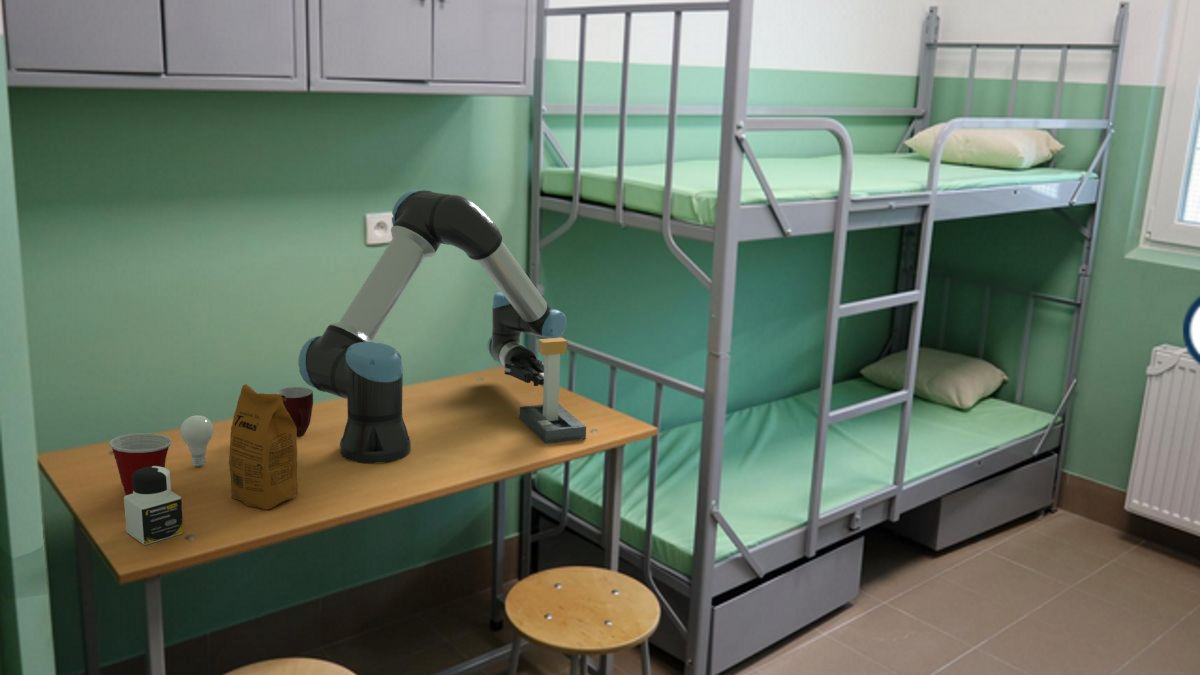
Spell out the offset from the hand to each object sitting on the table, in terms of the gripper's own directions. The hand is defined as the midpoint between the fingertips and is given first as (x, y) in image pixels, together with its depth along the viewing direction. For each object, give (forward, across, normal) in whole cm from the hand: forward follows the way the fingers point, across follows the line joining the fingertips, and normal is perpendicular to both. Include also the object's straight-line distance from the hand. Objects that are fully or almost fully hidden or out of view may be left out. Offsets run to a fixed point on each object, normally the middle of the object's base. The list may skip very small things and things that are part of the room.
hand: (552, 385), depth 242 cm
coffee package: (+23, +69, -10) cm, 73 cm away
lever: (+2, +1, -8) cm, 8 cm away
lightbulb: (+2, +79, -10) cm, 80 cm away
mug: (-10, +57, -10) cm, 59 cm away
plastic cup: (+16, +90, -10) cm, 92 cm away
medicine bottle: (+33, +88, -10) cm, 95 cm away
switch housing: (+3, +1, -10) cm, 10 cm away
